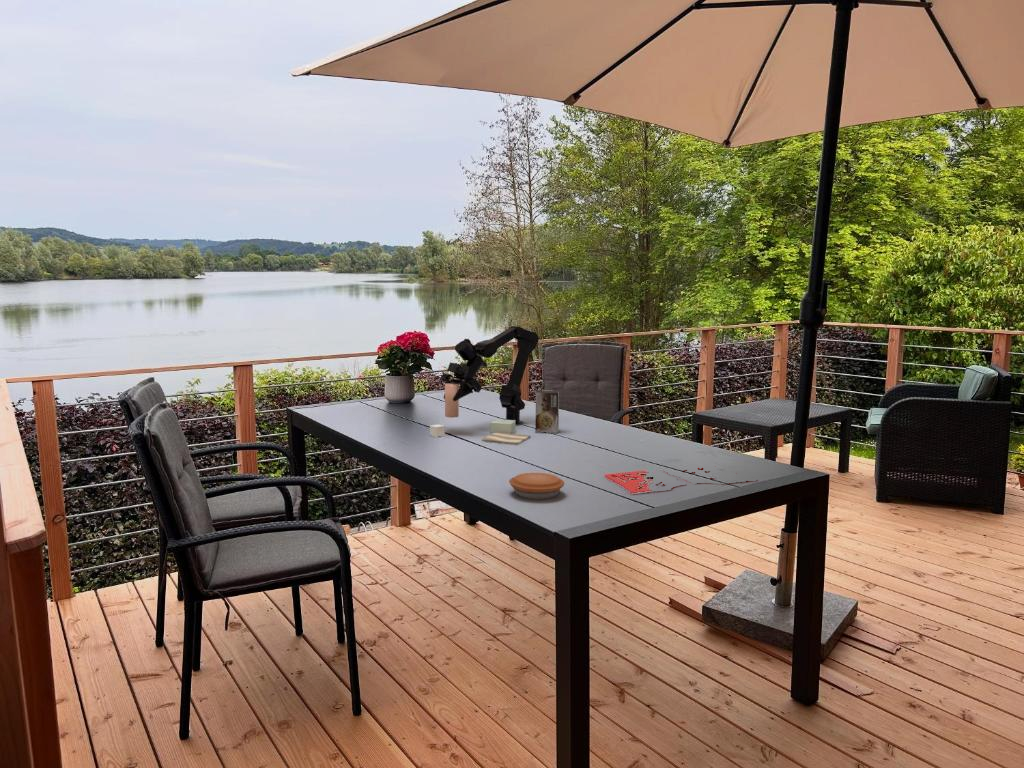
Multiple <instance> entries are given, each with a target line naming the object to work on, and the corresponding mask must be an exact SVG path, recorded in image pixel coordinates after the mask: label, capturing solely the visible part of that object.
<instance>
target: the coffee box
mask: <svg viewBox="0 0 1024 768" xmlns="http://www.w3.org/2000/svg"><path fill="white" fill-rule="evenodd" d="M559 398H560V390H559V389H558V390H557V389H556V390H555V389H553V390H552V389H537V390H536V391H535V421H534V423H535V425H534V426H535V427H534V428H535V431H534V433H538V432H546V433H547V434H548V433H549V434H558V433H559V427H560V426H559V424H560V423H559V420H560V419H559V417H560V416H559V415H560V409H559V407H560V399H559ZM546 433H545V434H546Z"/></svg>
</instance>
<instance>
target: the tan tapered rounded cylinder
mask: <svg viewBox="0 0 1024 768" xmlns="http://www.w3.org/2000/svg"><path fill="white" fill-rule="evenodd" d="M459 388H460V385H459V384H458V383H446V384H445V383H444V394H445V399H444V417H445V418H452V419H453V418H458V417H459V411H460V409H459V405H460V404H459V403H460V402H459V401H460V399H458V400H457V401H454V400H453V398H454V396H455V395H456V393H457V391H458V390H459Z"/></svg>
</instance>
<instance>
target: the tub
mask: <svg viewBox="0 0 1024 768" xmlns="http://www.w3.org/2000/svg"><path fill="white" fill-rule="evenodd" d="M514 431H515V432H516V420H506V419H497V418H496V419H494V420H493V421H490V433H496V432H498V433H509V434H514V433H515V432H514ZM513 432H514V433H513Z"/></svg>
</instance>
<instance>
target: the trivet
mask: <svg viewBox="0 0 1024 768" xmlns="http://www.w3.org/2000/svg"><path fill="white" fill-rule="evenodd" d="M529 439H531V435H528V434H519V433H512V434H509V433H498V432H496V433H494V434H489V435H488V436H486V437H483V438H482V439H481V442H482V441H489V442H488V443H492V442H498V443H497V444H502V443H505V444H506V445H512V444H515V445H514V446H518V444H519V445H520V444H522V443H524V442H525V441H527V440H529ZM523 441H524V442H523ZM505 444H504V445H505Z"/></svg>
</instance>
